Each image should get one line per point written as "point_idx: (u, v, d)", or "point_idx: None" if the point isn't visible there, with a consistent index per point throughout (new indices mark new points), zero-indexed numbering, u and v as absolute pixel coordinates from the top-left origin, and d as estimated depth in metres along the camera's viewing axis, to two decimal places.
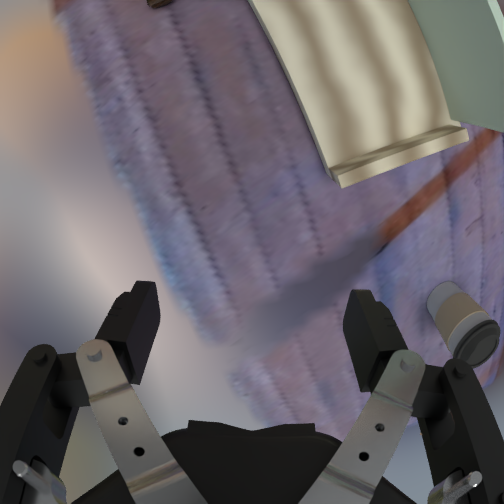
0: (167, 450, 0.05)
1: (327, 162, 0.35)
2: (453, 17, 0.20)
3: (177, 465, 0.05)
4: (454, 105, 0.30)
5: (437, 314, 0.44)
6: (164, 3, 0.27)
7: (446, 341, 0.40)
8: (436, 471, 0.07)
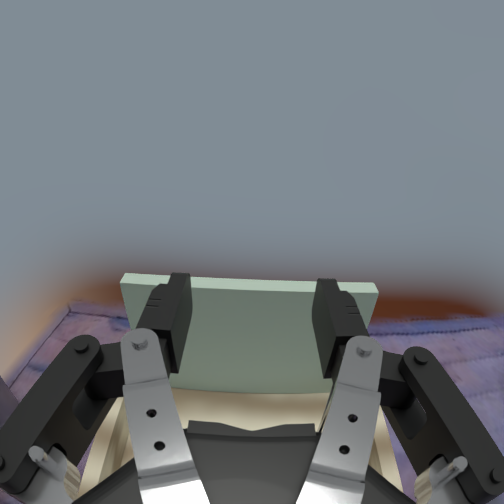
0: (188, 450, 0.06)
1: None
2: (227, 344, 0.28)
3: (193, 466, 0.05)
4: (328, 383, 0.31)
5: None
6: None
7: None
8: (415, 459, 0.07)
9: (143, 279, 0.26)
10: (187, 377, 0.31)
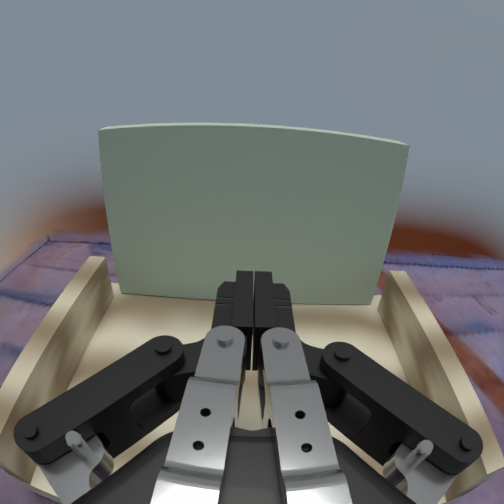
0: (223, 459, 0.05)
1: None
2: (225, 214, 0.22)
3: (220, 476, 0.05)
4: (353, 288, 0.26)
5: None
6: None
7: None
8: (372, 451, 0.08)
9: (126, 126, 0.20)
10: (171, 276, 0.25)
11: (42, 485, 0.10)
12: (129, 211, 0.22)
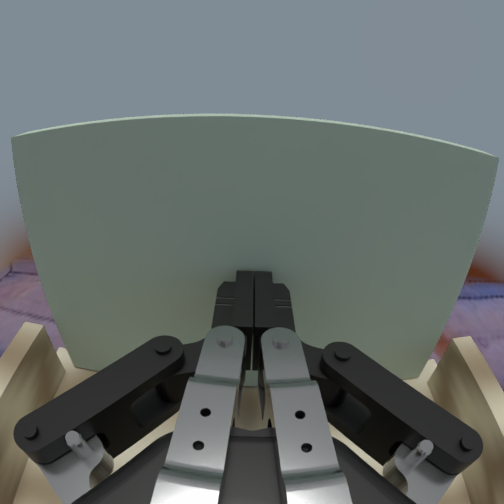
0: (223, 459, 0.05)
1: None
2: (210, 270, 0.13)
3: (220, 476, 0.05)
4: (400, 362, 0.16)
5: None
6: None
7: None
8: (372, 451, 0.08)
9: (51, 128, 0.11)
10: None
11: None
12: (64, 263, 0.13)
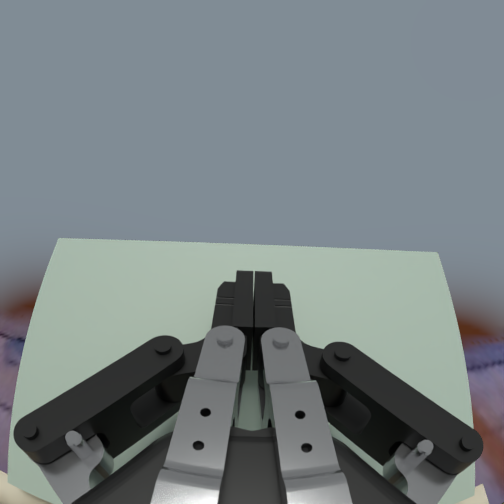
0: (223, 459, 0.05)
1: None
2: None
3: (220, 476, 0.05)
4: None
5: None
6: None
7: None
8: (372, 450, 0.08)
9: None
10: None
11: None
12: (55, 347, 0.12)
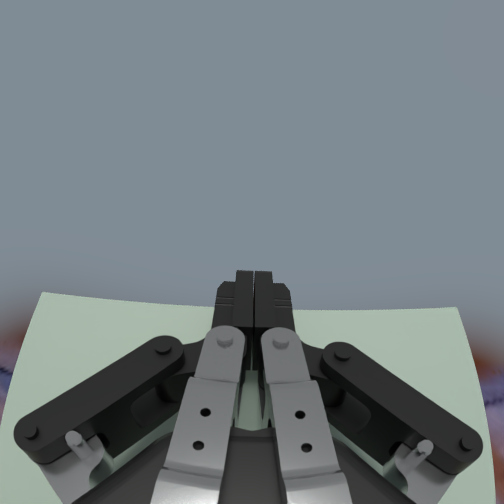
0: (223, 459, 0.05)
1: None
2: None
3: (220, 476, 0.05)
4: None
5: None
6: None
7: None
8: (372, 451, 0.08)
9: None
10: None
11: None
12: None
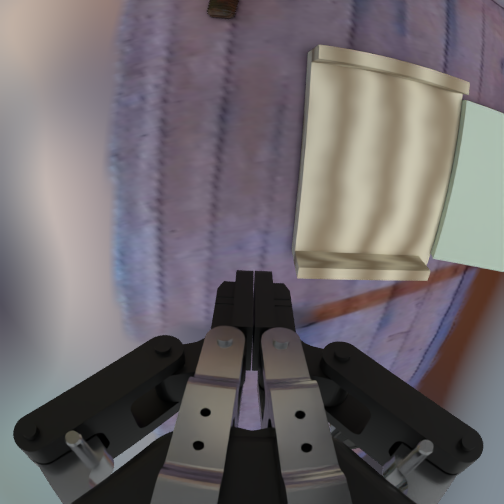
0: (223, 458, 0.05)
1: (296, 246, 0.40)
2: (502, 183, 0.31)
3: (220, 476, 0.05)
4: (448, 247, 0.37)
5: None
6: (222, 17, 0.28)
7: None
8: (372, 451, 0.08)
9: None
10: (476, 142, 0.30)
11: (313, 69, 0.29)
12: None
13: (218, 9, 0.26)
